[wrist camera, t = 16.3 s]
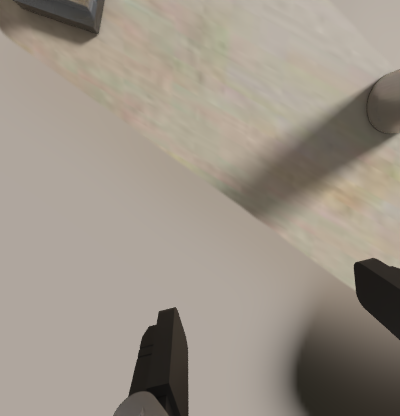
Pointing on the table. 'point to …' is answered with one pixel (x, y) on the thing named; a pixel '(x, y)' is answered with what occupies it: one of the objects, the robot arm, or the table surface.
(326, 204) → the table surface
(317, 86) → the table surface
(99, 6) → the press
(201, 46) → the table surface
